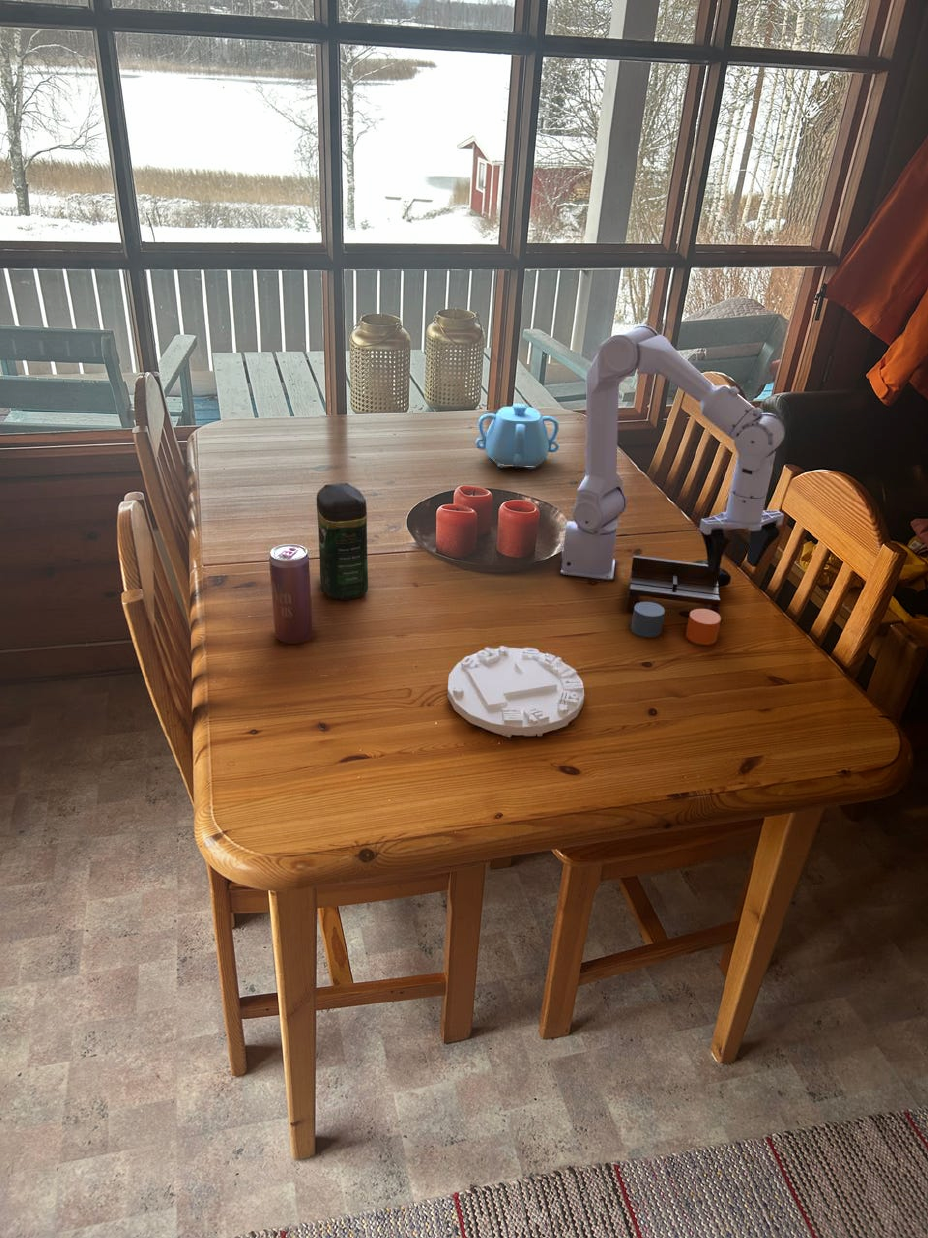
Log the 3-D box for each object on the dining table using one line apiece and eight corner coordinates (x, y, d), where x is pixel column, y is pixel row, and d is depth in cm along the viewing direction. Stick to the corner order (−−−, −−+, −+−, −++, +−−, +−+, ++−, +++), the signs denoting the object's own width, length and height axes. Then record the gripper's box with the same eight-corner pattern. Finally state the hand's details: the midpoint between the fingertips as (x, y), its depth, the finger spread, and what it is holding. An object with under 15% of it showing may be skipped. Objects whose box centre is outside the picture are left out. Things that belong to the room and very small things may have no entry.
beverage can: (319, 630, 148) (315, 547, 141) (302, 648, 143) (296, 564, 136) (286, 623, 150) (280, 540, 142) (268, 641, 145) (261, 556, 137)
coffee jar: (373, 598, 158) (372, 498, 148) (328, 604, 155) (323, 504, 146) (359, 572, 166) (357, 476, 156) (316, 578, 163) (311, 481, 154)
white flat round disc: (450, 656, 143) (451, 641, 141) (576, 662, 143) (578, 647, 141) (444, 736, 126) (445, 719, 124) (587, 743, 126) (590, 726, 124)
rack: (626, 612, 157) (631, 578, 154) (628, 587, 165) (633, 555, 161) (715, 623, 155) (722, 590, 152) (713, 598, 162) (720, 565, 159)
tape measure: (730, 591, 165) (734, 572, 163) (697, 595, 163) (700, 577, 161) (710, 573, 171) (713, 555, 169) (677, 577, 169) (681, 559, 167)
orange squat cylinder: (686, 642, 149) (690, 621, 147) (685, 627, 153) (689, 606, 151) (717, 647, 149) (721, 626, 146) (716, 631, 153) (720, 610, 151)
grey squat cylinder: (630, 635, 151) (633, 614, 149) (631, 620, 155) (634, 599, 153) (661, 639, 150) (664, 618, 148) (661, 624, 154) (665, 603, 152)
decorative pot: (564, 465, 215) (570, 409, 208) (512, 479, 206) (516, 420, 199) (519, 444, 226) (524, 390, 219) (468, 456, 217) (470, 400, 210)
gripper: (723, 506, 141) (707, 583, 148) (801, 496, 145) (783, 572, 152) (698, 488, 146) (685, 563, 153) (775, 480, 151) (758, 553, 158)
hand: (732, 567), depth 153 cm, fingers open, 7 cm apart
